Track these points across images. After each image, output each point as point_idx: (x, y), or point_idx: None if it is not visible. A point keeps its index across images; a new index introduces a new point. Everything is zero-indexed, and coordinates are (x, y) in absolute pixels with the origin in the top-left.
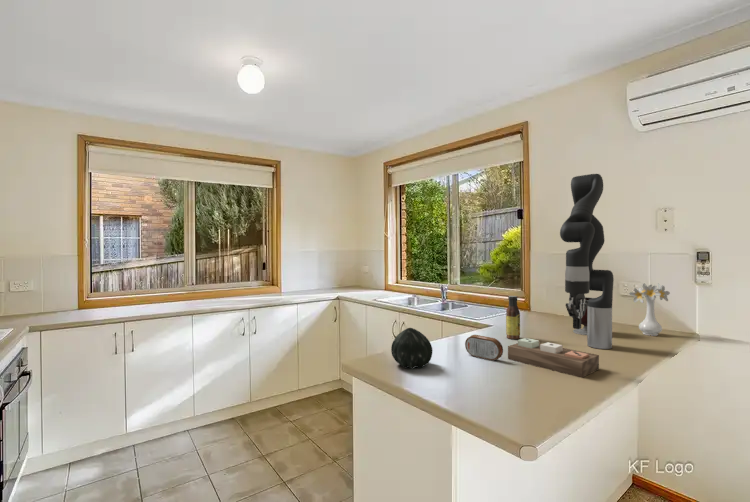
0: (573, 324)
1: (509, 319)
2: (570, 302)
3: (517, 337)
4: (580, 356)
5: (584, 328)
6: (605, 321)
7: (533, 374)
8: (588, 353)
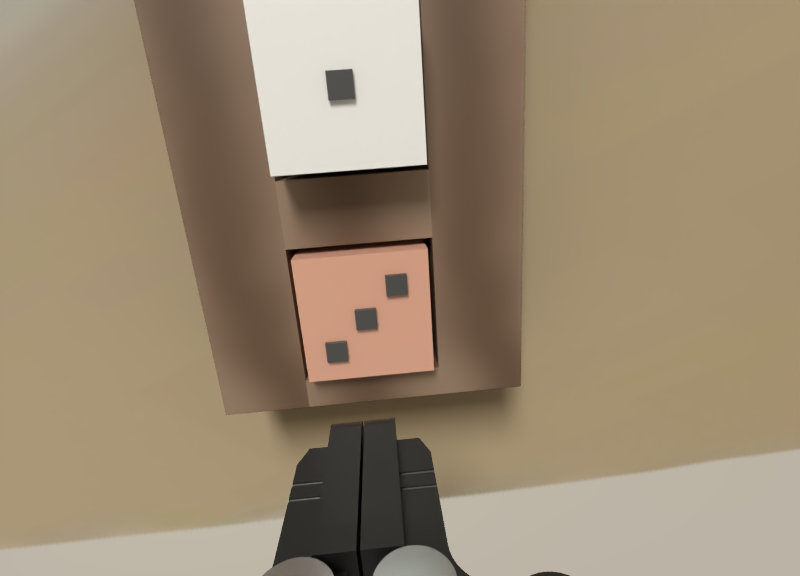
0: (295, 482)
1: None
2: None
3: None
4: (314, 369)
5: None
6: None
7: (23, 164)
8: (502, 328)
